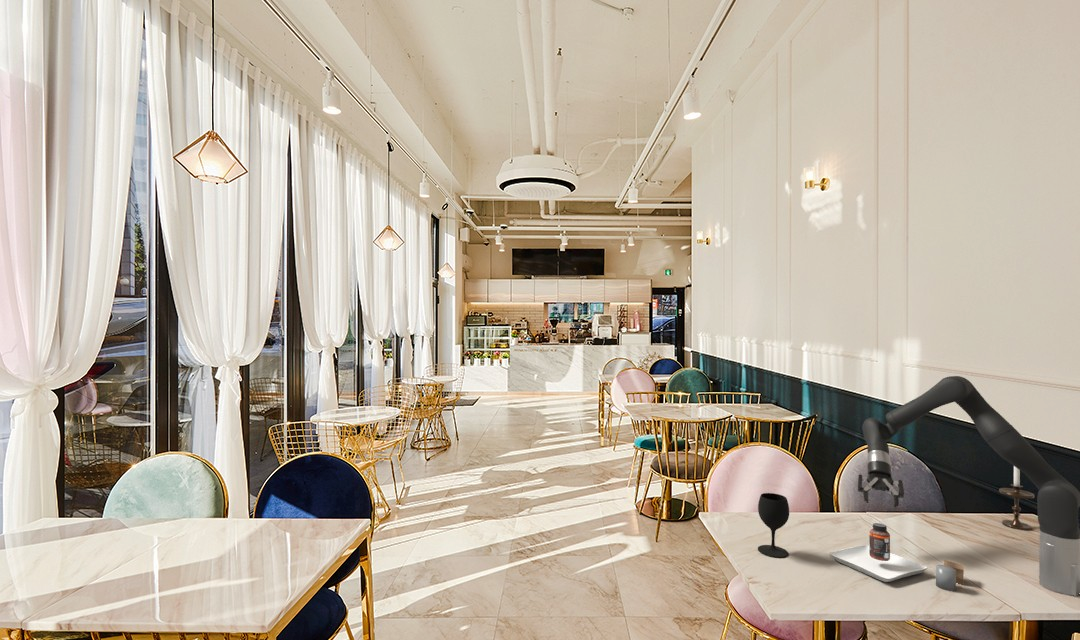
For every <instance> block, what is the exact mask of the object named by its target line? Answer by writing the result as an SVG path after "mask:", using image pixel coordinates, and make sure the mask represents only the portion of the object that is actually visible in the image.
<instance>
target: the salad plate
mask: <svg viewBox="0 0 1080 640" xmlns="http://www.w3.org/2000/svg"><path fill="white" fill-rule="evenodd" d="M828 554H829V555H830V557H831V558H832V559H834V560H835V561H837V562H838V563H841V564H843V565H845V566H848V567H850V568H852V569H853V570H856V571H859V572H861V573H863V574H865V575H868V576H870V577H873V578H874V579H877V580H878V581H881V582H884V583H889V582H890V583H891V582H893V581H897V580H900V579H903V578H906V577H911V576H914V575H918V574H921V573H924V572H925V571H927V569H928V567H927V566H925V565H923V564H920V563H918V562H915V561H913V560H911V559H908V558H905V557H903V556H900V555H897V554H894V553H892V552H890V560H888V561H881V560H877V559H874V558H872V557H871V556H870V553H869V543H868V544H861V545H860V544H859V545H855V546H851V547H848V548H847V547H846V548H843V549H842V548H841V549H837V550H833V551H830V552H828Z"/></svg>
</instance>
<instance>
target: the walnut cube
mask: <svg viewBox="0 0 1080 640" xmlns="http://www.w3.org/2000/svg"><path fill="white" fill-rule="evenodd" d="M943 565H946V566H949V567H952V568H954V569H955V570H956V583H958V584H957V585H960V584H961V585H960V586H964V579H965V578H964V569H965V568H964V567H965V566H964V564H962V563H958V562H955V561H948V560H946V559H945V560H943Z"/></svg>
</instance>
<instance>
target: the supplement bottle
mask: <svg viewBox="0 0 1080 640" xmlns="http://www.w3.org/2000/svg"><path fill="white" fill-rule="evenodd" d="M868 536H869V540H868V541H869V543H868V545H869V553H870V556H871V557H872V558H874V559H877V560H881V561H888V560H890V553H891V535H890V533H889V532H888V529H887V525H886V524H885V523H879V522H873V523H872V528H871V529H869V535H868Z"/></svg>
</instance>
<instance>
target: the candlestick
mask: <svg viewBox="0 0 1080 640" xmlns="http://www.w3.org/2000/svg"><path fill="white" fill-rule="evenodd" d="M1020 474H1021V471H1020V470H1019V469H1018V468H1016V467H1015V466H1013V484H1012V483H1011V484H1010V486H1011V487H1012V488H1011V487H1000V488H999V493H1000V494H1002V495H1006V496H1009V497H1012V498H1014V502H1013V503H1014V504H1013V505H1014V506H1012V507H1011V509H1012V510H1013V512H1012V515H1014V516H1013V517H1014V518H1013V519H1012V520H1010V519H1003V520H1001V524H1002V526H1004V527H1007V528H1011V529H1015V530H1018V531H1019V530H1020V531H1031V530H1032V526H1031V525H1030V524H1027V523H1024V522H1022V521H1020V518H1019V517H1020V516H1021V514H1020V511H1022V508H1021V507H1020V504H1019V503H1020V500H1021V499H1026V500H1028V499H1034V498H1035V493H1032V492H1030V491H1027V490H1023V489H1021V488H1024V486H1023V485H1021V484H1020V483H1021V479H1020V477H1021V475H1020ZM1019 499H1020V500H1019Z"/></svg>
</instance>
